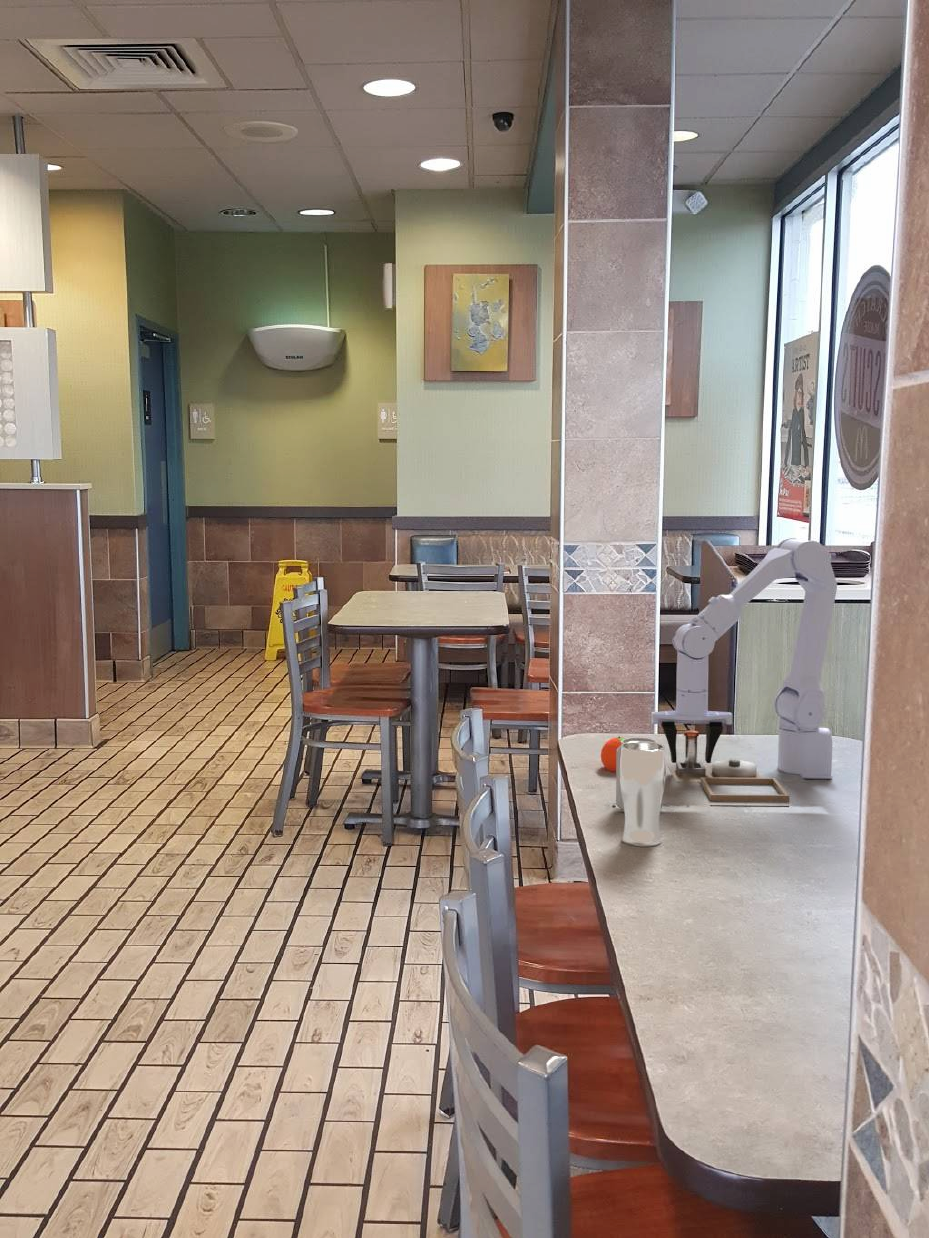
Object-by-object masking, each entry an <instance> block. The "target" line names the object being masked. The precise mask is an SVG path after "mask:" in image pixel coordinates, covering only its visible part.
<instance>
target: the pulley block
mask: <svg viewBox="0 0 929 1238" xmlns="http://www.w3.org/2000/svg"><path fill="white" fill-rule="evenodd" d="M667 767H668V769H669V771H670V773H671V775H672V777H673V780H674V782H675V783H701V777H720V778H763V777H762V776H761V775H760V773H759V772H758V768H757V765H756V764H755V763H753V762H750V761H746V760H741V759H740V760H739V759H722V760H717V761H713V762H712V763H711V764H707V765H706V764H703V762H702V761H700V762H699V761H697V768H685V761H676V763H675V764H667Z"/></svg>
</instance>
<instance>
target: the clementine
mask: <svg viewBox="0 0 929 1238" xmlns="http://www.w3.org/2000/svg"><path fill="white" fill-rule="evenodd" d="M623 739H626V737H625V738H624V737H620V736H618V737H612V738H610V739H609V740H608V741H606V742H605V743H604V744H603V746H602V748H601V752H600V760H601V762H602V765H603V766H604V768H605V770H608V771H611V772H615V773H616V762H617V748H618V747H619V746H620V745H621V740H623Z"/></svg>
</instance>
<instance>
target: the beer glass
mask: <svg viewBox="0 0 929 1238" xmlns="http://www.w3.org/2000/svg"><path fill="white" fill-rule="evenodd" d="M620 786H621V793H622V799H623V804H624V811H625V813H624V824H623V825H624V826H623V831H622V835H621V840H622V842H623V843H625V844H626V845H629V846H633V847H641V848H643V847H645V848H646V847H655V846H657V845H658V846H659V845H660V844H661V843H662V840H663V839H662V835H661V834H662V832H661V826H660V825H661V824H660V815H661V808H662V803H663V797H664V791H665V786H666V754H665V745H664V744H662V743H659V742H658V743H656V742H650V741H631V742H626V743H623V744H622V745H621V758H620Z"/></svg>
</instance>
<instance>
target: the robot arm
mask: <svg viewBox="0 0 929 1238" xmlns="http://www.w3.org/2000/svg"><path fill="white" fill-rule="evenodd" d="M831 561H832V555H831V553H830V552H829V551H828V550H827V549H826V547H824V546H823V545H822V544H821V543H820V542H818V541H815V540H806V539H805V540H804V539H797V538H796V537H795V538H794V537H788V538H785V539H783V540H781V541H780V542H779V543H778V544H777V546H776V547H773V548H771V550H769V551H768V552H767V554H766V555H765V557H764V558H762V560H761V561H760V562H759V563H758V564H757V566H755V568H753V569H752V570H751V571H750V572H749V573H748V574H747V576H746V577H745V578H744V579H743V580H742V581H740V583H739V584H738V585H737V586H736V587H735V588H734V589H733V590H732V591H731V592H730V593H729V594H719V595H717V596H716V597H715V596H712V597H711V598H709V599H708V601H707V602H708V603H709V604H708V605H707V606H705V608H703V609H702V610H701V611H700V612H699V613H698V614H697V615H696V616H694V615H693V616H692V617H690V618H689V621H690V623H687V624H686V623H685V624H683V625H681V626H680V627H678V629H677V630H676V631H675V632H674V633H675V635H674V637H673V638H672V639H671V640H672V646H673V648H674V649H675V650H676V652H677V653H676V655H677V656H676V659H677V660H676V694H675V695H676V696H675V698H676V700H675V702H676V703H675V704H676V705H675V710H666V711H651V724H652V725H658V724H660V725H661V728H662V730H663V732H664V735H665V738H666V740H667V744H668V748H669V751H670V753H669V754H670V761H671V763H672V764H676V762H677V759H678V758H677V734H678V730H677V725H676V724H694V725H695V724H697V725H698V724H699V725H700V724H705V752H704V757H705V759H704V761H705V762H706V764H712V757H713V754H714V750H715V747H716V744H717V742H718V740H719V738H720V737H721V735H722V734H723V732H724V726H723V725H724V724H726V725H728V726H729V725H733V713H732V712H730V711H729V712H728V711H713V710H712V711H711V710H708V709H709V655H710V654H711V653H713V650H714V648H715V643H716V641H718V640H719V639H720V638H721V637H722V636H723V635H724V634H725V633H726V632H727V631H728V630H730V629H731V627H733V626H734V625H735V624H736V623H737V622H738V621H739V620H741V618H742V615H743V614H742V613H743V608H744V607H745V606H746V605H747V604H748V603H749V602H751V601H752V600H753V599H754V598H755V597H757V596H758V595H759V594H760V593H762V591H764V590H765V589H766V588H767V587H769V585H771V584H772V583H773V582H774V581H776V580H781V579H787V578H794V579H795V580H796V581H797V582H798V584H799V585H800V587H801V588H802V589H803V590H804V591H805V592H804V598H803V602H802V610H801V615H800V619H799V625H798V630H797V637H796V641H795V646H794V651H793V657H792V663H791V668H790V673H789V674H788V675H787V677H785V678H784V680H783V682H782V684H781V688H780V690H779V692H778V694H777V695H776V696H775V698H774V702H773V707H774V711H775V713H776V715H777V716H778V717H779V722H778V744H777V745H778V749H777V751H778V752H777V769H778V770H780V771H781V772H785V773H788V774H796V775H797V774H798V775H799V776H801V777H802V779H818V780H819V779H824V780H825V779H828V780H829V779H830V780H831V779H833V775H832V771H833V770H832V769H833V768H832V767H833V736H832V732H831V730H830V729H829V727H821V725H822V724H823V722H825V721H824V720H825V719H826V715H827V711H826V706H825V702H824V701H825V699H824V698H825V695H826V694H825V693H826V692H825V690H824V688H823V685H822V682H821V673H822V669H823V663H824V659H825V653H826V648H827V643H828V637H829V632H830V627H831V622H832V617H833V611H834V606H835V600H836V597H837V596H836V594H837V590H838V582H837V579H836V576H835V573H834V570H833V566H832V563H831Z"/></svg>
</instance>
